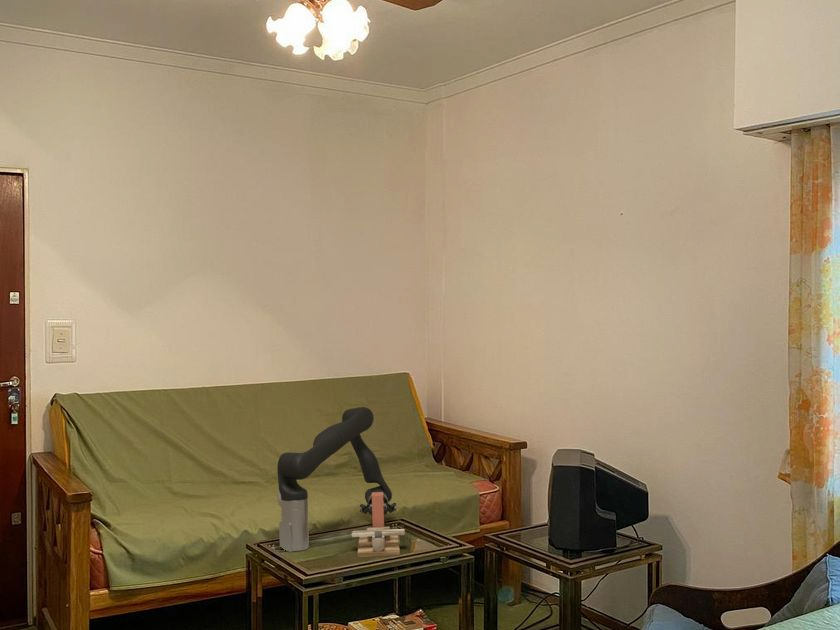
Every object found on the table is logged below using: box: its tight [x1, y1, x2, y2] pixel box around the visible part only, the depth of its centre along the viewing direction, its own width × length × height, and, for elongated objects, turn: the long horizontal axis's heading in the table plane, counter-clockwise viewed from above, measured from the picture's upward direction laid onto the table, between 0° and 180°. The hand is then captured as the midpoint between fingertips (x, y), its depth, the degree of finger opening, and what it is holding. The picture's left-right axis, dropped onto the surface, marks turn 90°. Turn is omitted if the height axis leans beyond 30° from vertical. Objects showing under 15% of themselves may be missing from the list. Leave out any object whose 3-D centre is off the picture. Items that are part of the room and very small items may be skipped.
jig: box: [351, 526, 406, 558], centre depth 295 cm, size 28×18×7 cm, turn 3°
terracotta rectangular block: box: [371, 492, 385, 527], centre depth 304 cm, size 7×4×14 cm, turn 3°
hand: (378, 512), depth 301 cm, fingers closed on terracotta rectangular block, 4 cm apart
